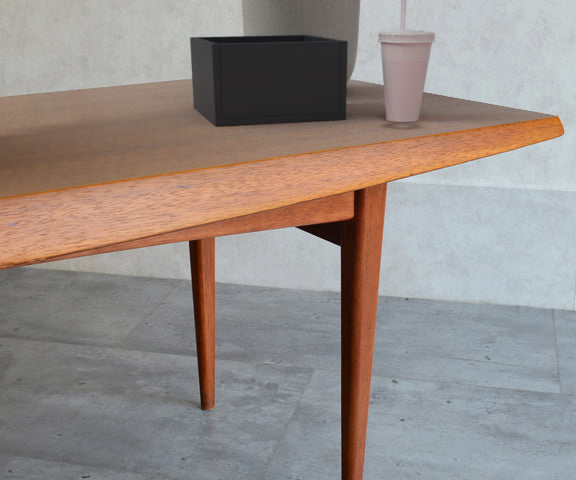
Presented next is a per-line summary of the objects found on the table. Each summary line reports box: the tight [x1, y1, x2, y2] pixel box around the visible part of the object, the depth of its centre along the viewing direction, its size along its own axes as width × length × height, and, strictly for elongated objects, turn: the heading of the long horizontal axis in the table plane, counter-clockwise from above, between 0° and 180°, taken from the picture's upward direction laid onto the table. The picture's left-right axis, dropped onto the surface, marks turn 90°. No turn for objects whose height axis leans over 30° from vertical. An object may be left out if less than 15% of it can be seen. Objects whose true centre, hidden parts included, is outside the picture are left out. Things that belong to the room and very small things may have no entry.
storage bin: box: [189, 35, 348, 127], centre depth 90 cm, size 16×16×9 cm
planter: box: [241, 0, 361, 83], centre depth 107 cm, size 17×17×15 cm
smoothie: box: [377, 0, 436, 123], centre depth 84 cm, size 6×6×14 cm
